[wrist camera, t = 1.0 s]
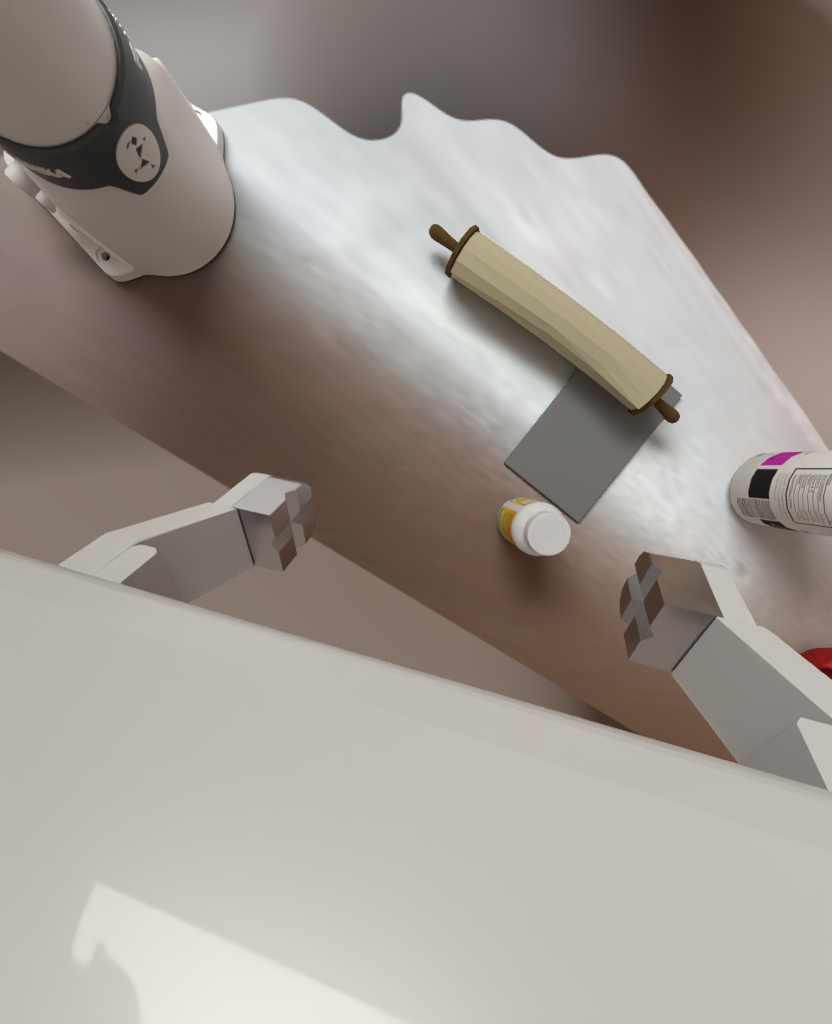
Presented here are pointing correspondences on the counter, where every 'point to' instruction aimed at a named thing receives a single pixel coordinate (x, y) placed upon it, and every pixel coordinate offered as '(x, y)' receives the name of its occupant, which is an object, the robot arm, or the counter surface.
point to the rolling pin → (557, 321)
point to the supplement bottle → (533, 526)
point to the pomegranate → (820, 659)
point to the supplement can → (786, 491)
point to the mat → (582, 443)
